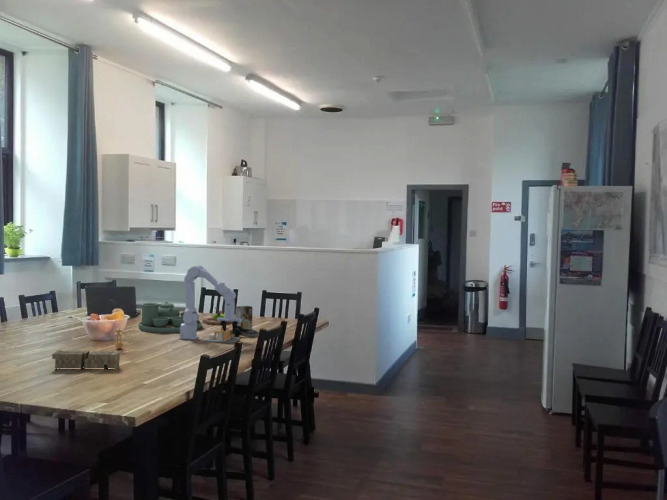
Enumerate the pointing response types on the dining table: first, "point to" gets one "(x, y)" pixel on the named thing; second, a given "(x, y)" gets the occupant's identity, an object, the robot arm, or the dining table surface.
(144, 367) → the dining table surface
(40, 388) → the dining table surface
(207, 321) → the plant
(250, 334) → the headset
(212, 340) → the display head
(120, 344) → the figurine
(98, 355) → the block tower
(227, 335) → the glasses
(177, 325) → the tea set
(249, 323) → the coffee box
